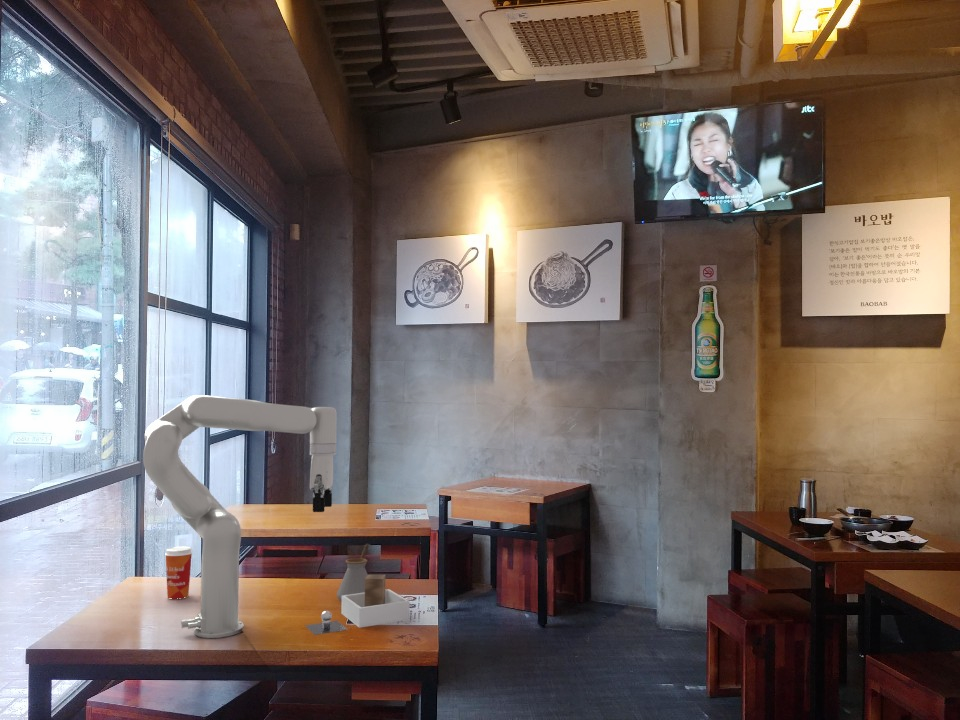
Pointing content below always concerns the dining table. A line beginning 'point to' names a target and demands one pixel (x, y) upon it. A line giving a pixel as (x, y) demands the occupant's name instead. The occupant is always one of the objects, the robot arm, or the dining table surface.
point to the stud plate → (322, 631)
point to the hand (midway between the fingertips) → (322, 509)
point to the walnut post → (374, 590)
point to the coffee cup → (178, 571)
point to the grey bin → (375, 609)
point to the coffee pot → (354, 576)
